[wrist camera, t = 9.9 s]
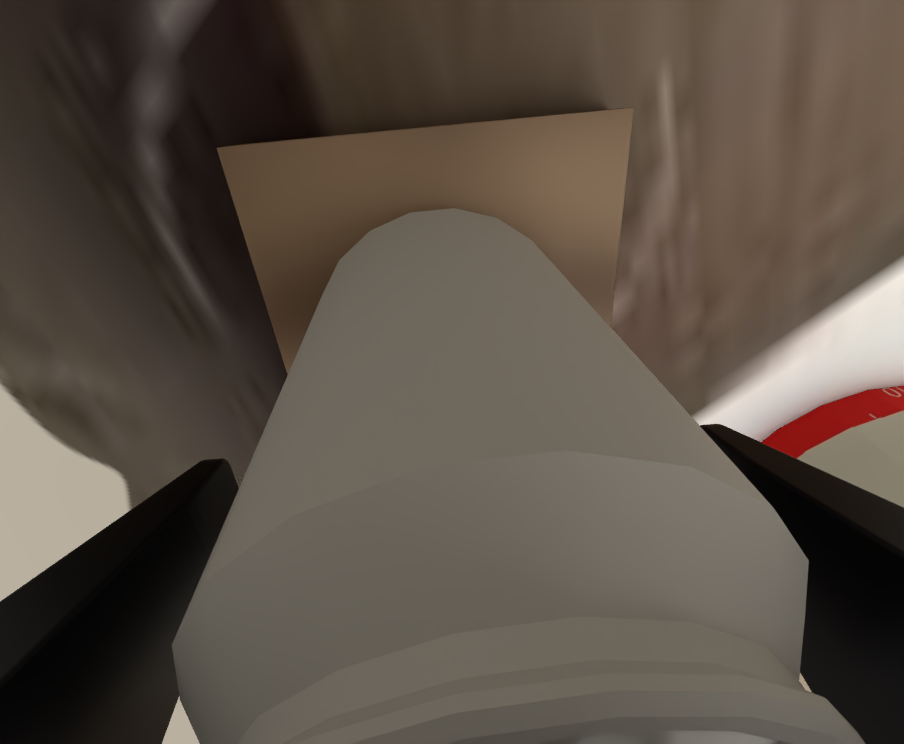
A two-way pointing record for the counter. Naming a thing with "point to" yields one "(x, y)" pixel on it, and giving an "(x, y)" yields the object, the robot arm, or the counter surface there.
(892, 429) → the kitchen timer
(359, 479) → the can
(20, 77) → the counter surface
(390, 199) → the brown flat square block
